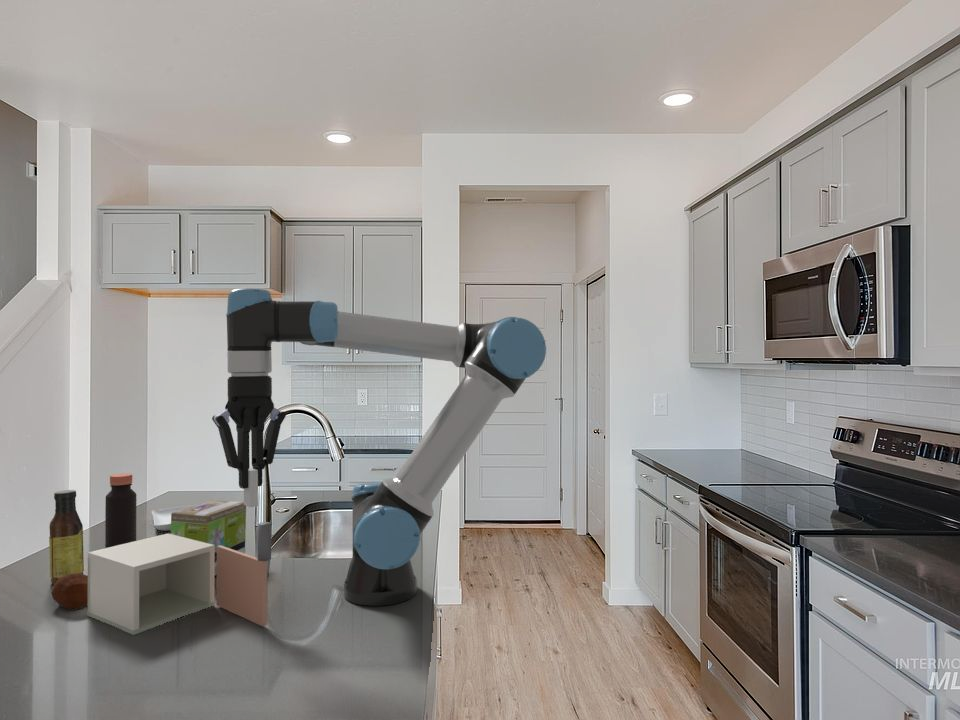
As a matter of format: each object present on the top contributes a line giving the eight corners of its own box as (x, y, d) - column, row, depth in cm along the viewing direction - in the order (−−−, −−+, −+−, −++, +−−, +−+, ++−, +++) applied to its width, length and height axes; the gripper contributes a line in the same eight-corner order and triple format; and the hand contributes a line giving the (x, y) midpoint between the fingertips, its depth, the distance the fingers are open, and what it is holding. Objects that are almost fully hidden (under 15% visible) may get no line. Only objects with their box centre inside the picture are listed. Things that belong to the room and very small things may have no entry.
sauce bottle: (90, 579, 139) (90, 490, 140) (61, 588, 134) (61, 495, 134) (71, 575, 142) (71, 487, 142) (42, 583, 137) (42, 492, 137)
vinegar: (137, 549, 162) (137, 472, 162) (135, 556, 156) (135, 476, 156) (106, 552, 159) (107, 473, 159) (103, 560, 153) (104, 478, 153)
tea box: (208, 582, 138) (208, 514, 138) (168, 578, 140) (168, 512, 140) (246, 561, 153) (247, 500, 153) (210, 558, 155) (210, 498, 155)
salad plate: (154, 536, 176) (154, 524, 176) (151, 520, 194) (151, 509, 194) (234, 526, 186) (234, 515, 186) (224, 512, 205) (224, 501, 205)
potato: (54, 617, 119) (54, 583, 119) (49, 603, 126) (49, 570, 126) (97, 608, 123) (97, 575, 123) (89, 595, 130) (90, 563, 130)
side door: (216, 605, 123) (216, 513, 124) (228, 601, 125) (228, 510, 125) (262, 626, 113) (263, 526, 114) (274, 622, 115) (274, 523, 115)
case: (214, 605, 124) (214, 545, 124) (133, 634, 111) (133, 567, 111) (167, 590, 133) (168, 533, 133) (87, 615, 119) (87, 552, 119)
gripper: (275, 374, 120) (276, 496, 120) (205, 375, 112) (206, 508, 112) (293, 374, 115) (294, 503, 115) (220, 375, 106) (222, 515, 106)
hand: (250, 505), depth 113 cm, fingers closed
